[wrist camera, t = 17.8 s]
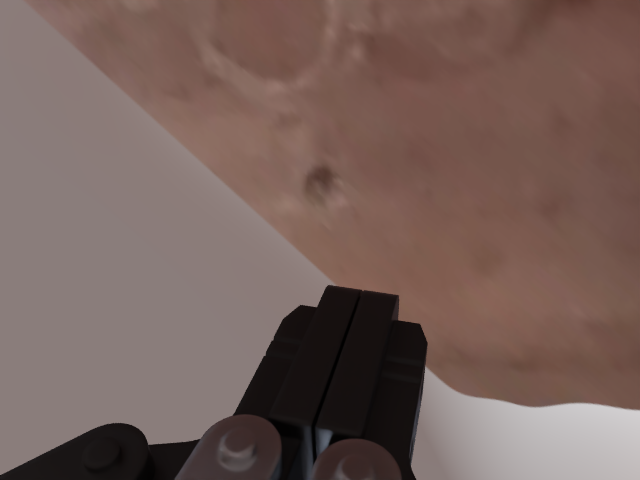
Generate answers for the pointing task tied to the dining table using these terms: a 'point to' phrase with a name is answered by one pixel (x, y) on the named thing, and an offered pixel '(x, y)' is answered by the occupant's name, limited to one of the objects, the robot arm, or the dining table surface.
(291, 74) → the dining table surface
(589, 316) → the dining table surface
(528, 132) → the dining table surface
